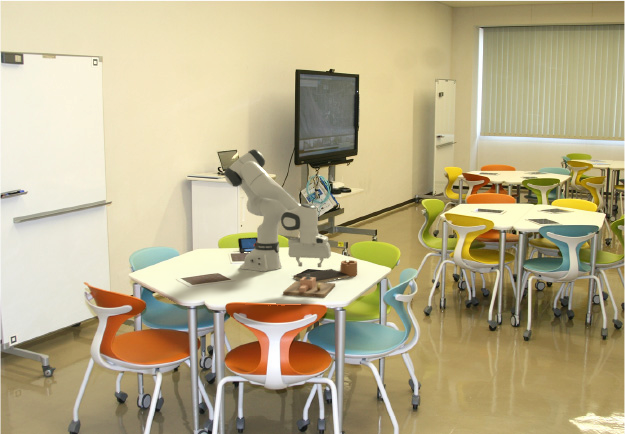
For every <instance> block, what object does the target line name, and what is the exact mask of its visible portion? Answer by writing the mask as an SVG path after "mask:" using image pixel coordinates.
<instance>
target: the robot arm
mask: <svg viewBox="0 0 625 434" xmlns="http://www.w3.org/2000/svg"><path fill="white" fill-rule="evenodd" d="M265 164H266V160H265V157H264V155H263V153H261V152H260V151H258V150H257V149H250V150H248V152H246V153H244V154H243V155H241V156H240V157H239V158H237V160H235V161H234V162H233V163H232V164H231V165H230V166H229V167H227V168H225V170H224V171H223V175H224V179H225V180H226V182H227V183H228V184H229V185H230V186H232V187H236V188H237V187H241V188H242V190H243V193H244V194H245V195H246V197H247V202H246V209H247V211H248V212H249V213H250V214H252V215H255V216H258V217H263V218H262V219H263V220H262V222H261V223H260V225H258V226H257V231H256V233H257V236H256V237H257V239H258V241H257V242H256V243H254V244H253V245H254V247H255V249H254V250H252V251H251V252H250V253H246V255H245V257H244V261H243V263H242V264H241V265H240V266H239V269H241V270H249V271H255V272H256V271H258V272H267V271H273V270H274V271H275V270H278V269H281V268H282V267H283V266H282V264H281V259H280V253H279V252H280V242H279V226H280V222H281V226H282V227H283V228H284V229H285V231H286V230H287V231H291V232H292V231H295V230H296V231H297V230H298V231H299V237H291V238H289V239H288V241H287V243H288V257H290V258H295V261H296V262H297V263H298V265H297V266H298V267H300V268H301V267H303V261H301V260H300V259H301V258H303V259H304V258H305V259H319V262H318V263H317V268H321V267H322V263H323V261H324V259H329V258H330V257H331V256H332V251H331V250H332V249H331V245H330V243H329V242H328V241H329V237H328V236H326V235H323V234H321V233H319V229H318V225H319V216H318V215H319V214H318V209H317V207H316V206H315V204H311V203H300V202H299V201H298V200H297V199H296V198H295V197H294V196H293V195H291V193H290V192H289V191H287V189H286V188H284V187H283V186H282V185H280V184H279V183H278V182H276V181H275V180H274V178H272V177H271V176H270V174H269V173H268V172H267V171H266V170H265V169H264V168H263V167H264V166H265Z"/></svg>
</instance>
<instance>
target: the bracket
mask: <svg viewBox="0 0 625 434" xmlns="http://www.w3.org/2000/svg"><path fill="white" fill-rule="evenodd" d="M339 270H340V271H339V272H342V273H345V274H348V276H350V277H349V278H353V277H357V276H358V261H357V260H350V259H349V260H348V261H347V260H342V261H340V267H339ZM356 275H357V276H356ZM352 276H353V277H352Z"/></svg>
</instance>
